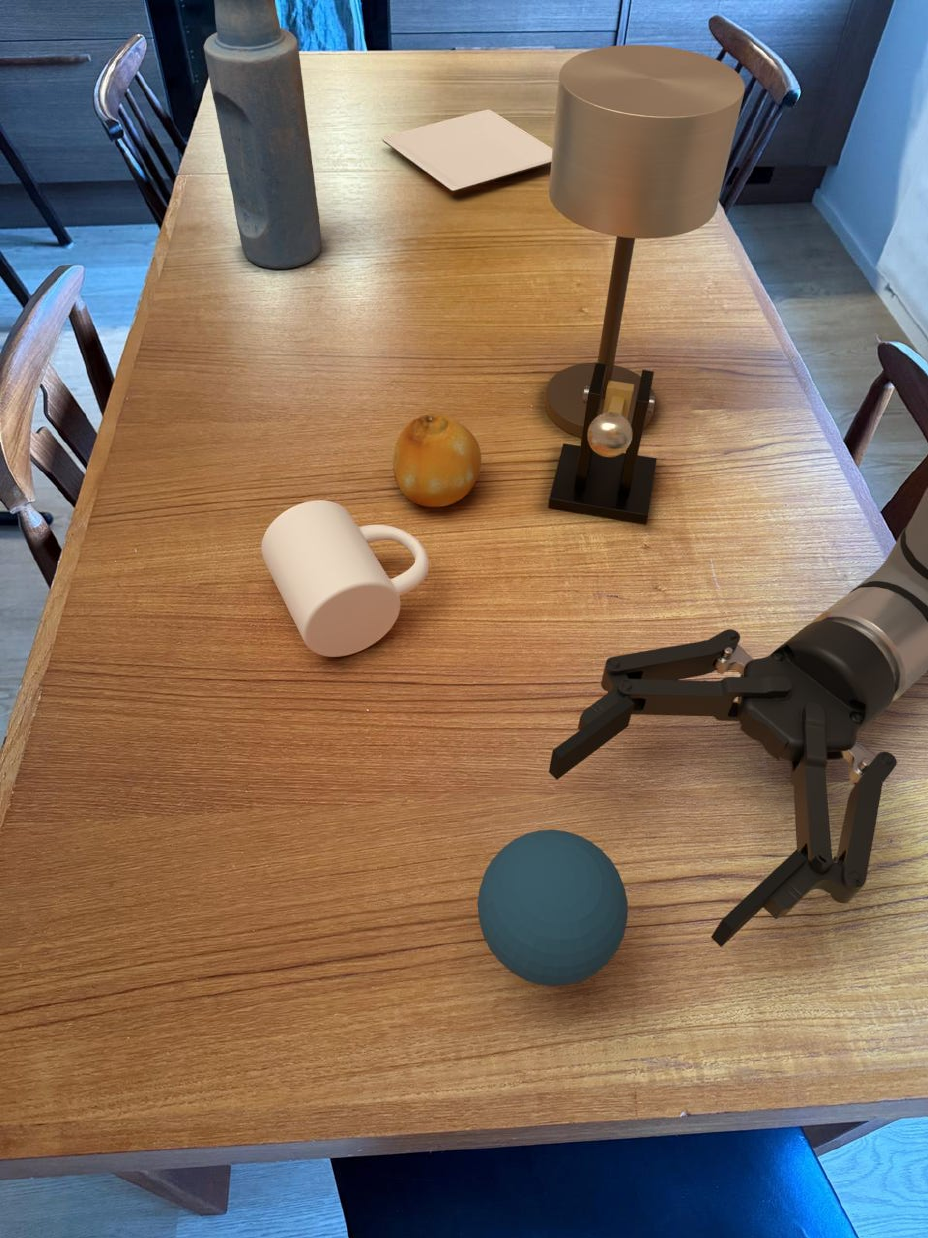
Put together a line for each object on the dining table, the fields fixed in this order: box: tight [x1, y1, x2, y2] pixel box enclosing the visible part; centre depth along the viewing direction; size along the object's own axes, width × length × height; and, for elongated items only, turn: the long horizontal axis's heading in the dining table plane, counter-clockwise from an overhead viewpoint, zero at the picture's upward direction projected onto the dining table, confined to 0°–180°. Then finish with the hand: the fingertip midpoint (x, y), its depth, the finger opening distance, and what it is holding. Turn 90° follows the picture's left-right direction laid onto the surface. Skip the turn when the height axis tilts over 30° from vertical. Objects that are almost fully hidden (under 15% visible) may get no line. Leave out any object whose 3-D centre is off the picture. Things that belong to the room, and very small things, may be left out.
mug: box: [260, 499, 430, 658], centre depth 71 cm, size 12×10×8 cm
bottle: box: [203, 0, 323, 270], centre depth 98 cm, size 10×10×30 cm
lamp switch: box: [587, 381, 634, 457], centre depth 70 cm, size 16×3×3 cm, turn 167°
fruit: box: [392, 413, 482, 508], centre depth 81 cm, size 8×8×8 cm
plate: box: [381, 108, 553, 193], centre depth 126 cm, size 19×19×2 cm
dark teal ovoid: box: [477, 829, 629, 987], centre depth 52 cm, size 8×8×12 cm
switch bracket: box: [547, 362, 658, 526], centre depth 79 cm, size 8×9×12 cm
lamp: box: [544, 44, 746, 439], centre depth 80 cm, size 14×14×30 cm
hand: (632, 844), depth 53 cm, fingers open, 13 cm apart
